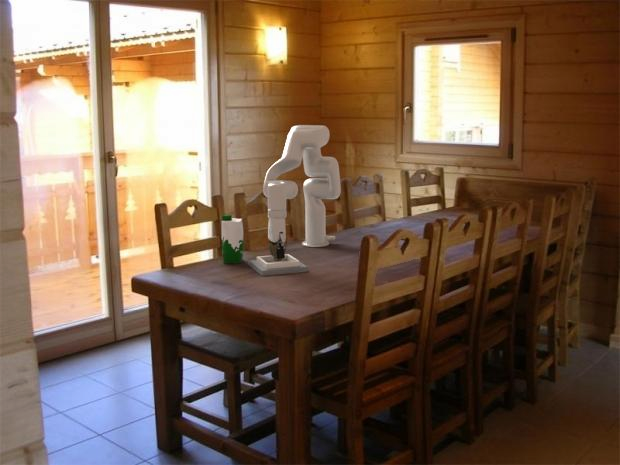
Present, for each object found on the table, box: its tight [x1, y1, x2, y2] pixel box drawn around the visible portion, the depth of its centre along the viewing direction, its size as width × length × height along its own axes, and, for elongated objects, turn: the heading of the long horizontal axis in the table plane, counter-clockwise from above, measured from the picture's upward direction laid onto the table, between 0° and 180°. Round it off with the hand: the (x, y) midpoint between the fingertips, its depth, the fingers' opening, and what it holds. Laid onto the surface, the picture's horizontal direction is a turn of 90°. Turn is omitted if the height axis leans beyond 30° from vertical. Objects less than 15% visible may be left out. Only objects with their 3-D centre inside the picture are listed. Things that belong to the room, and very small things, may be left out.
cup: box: [268, 240, 288, 261], centre depth 294 cm, size 8×7×8 cm
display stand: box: [248, 253, 308, 277], centre depth 295 cm, size 19×19×4 cm
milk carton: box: [221, 213, 244, 264], centre depth 306 cm, size 9×9×20 cm
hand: (277, 256), depth 294 cm, fingers closed on cup, 6 cm apart
